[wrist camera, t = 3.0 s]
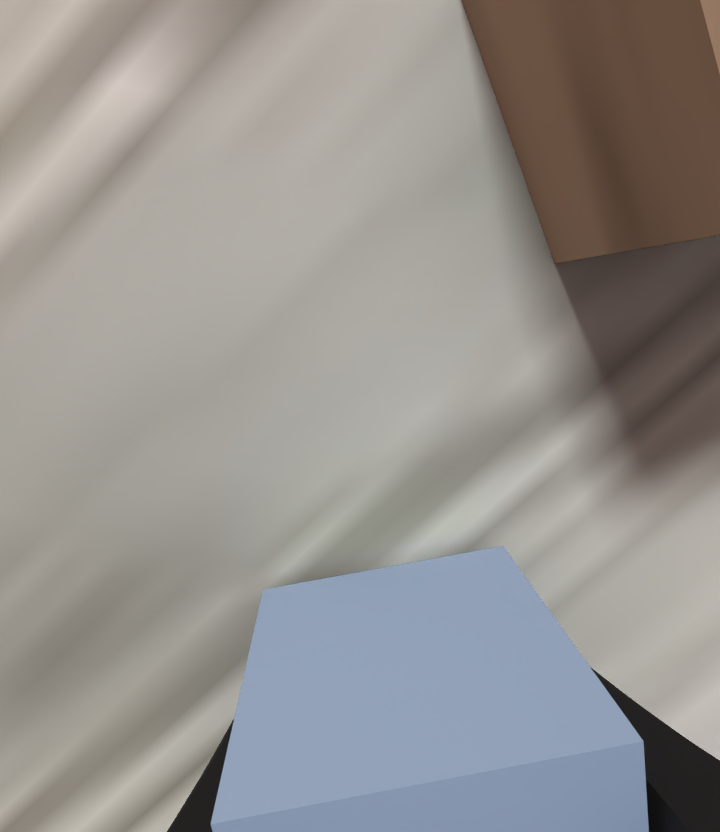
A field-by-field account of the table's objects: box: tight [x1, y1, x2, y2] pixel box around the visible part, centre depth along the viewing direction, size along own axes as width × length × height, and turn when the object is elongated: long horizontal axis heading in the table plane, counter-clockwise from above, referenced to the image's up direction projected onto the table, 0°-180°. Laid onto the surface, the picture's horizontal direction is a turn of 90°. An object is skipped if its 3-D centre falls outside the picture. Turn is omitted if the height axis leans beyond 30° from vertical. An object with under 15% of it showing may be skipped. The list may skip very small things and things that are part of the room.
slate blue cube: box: [211, 546, 649, 832], centre depth 9 cm, size 5×5×5 cm
